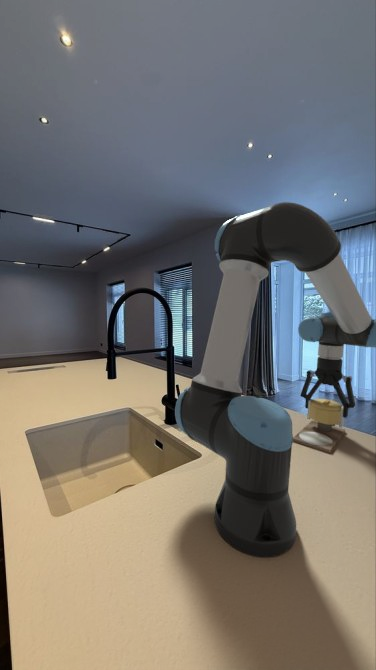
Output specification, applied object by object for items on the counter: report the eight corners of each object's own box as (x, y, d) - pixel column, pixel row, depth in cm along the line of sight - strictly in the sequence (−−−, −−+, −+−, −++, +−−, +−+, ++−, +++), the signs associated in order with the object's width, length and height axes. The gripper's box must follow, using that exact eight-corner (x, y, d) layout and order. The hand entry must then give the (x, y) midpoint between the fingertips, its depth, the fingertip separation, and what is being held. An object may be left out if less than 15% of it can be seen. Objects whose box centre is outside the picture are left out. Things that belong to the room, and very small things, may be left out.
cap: (336, 427, 90) (338, 408, 89) (306, 418, 96) (307, 401, 96) (343, 418, 97) (344, 401, 97) (314, 411, 103) (316, 395, 103)
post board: (330, 453, 82) (332, 423, 81) (292, 441, 89) (294, 413, 88) (345, 432, 97) (347, 406, 97) (311, 423, 104) (313, 399, 104)
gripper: (370, 360, 91) (364, 428, 92) (300, 352, 105) (296, 410, 107) (366, 363, 85) (359, 435, 87) (293, 354, 99) (288, 416, 101)
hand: (324, 421), depth 97 cm, fingers closed on cap, 9 cm apart
